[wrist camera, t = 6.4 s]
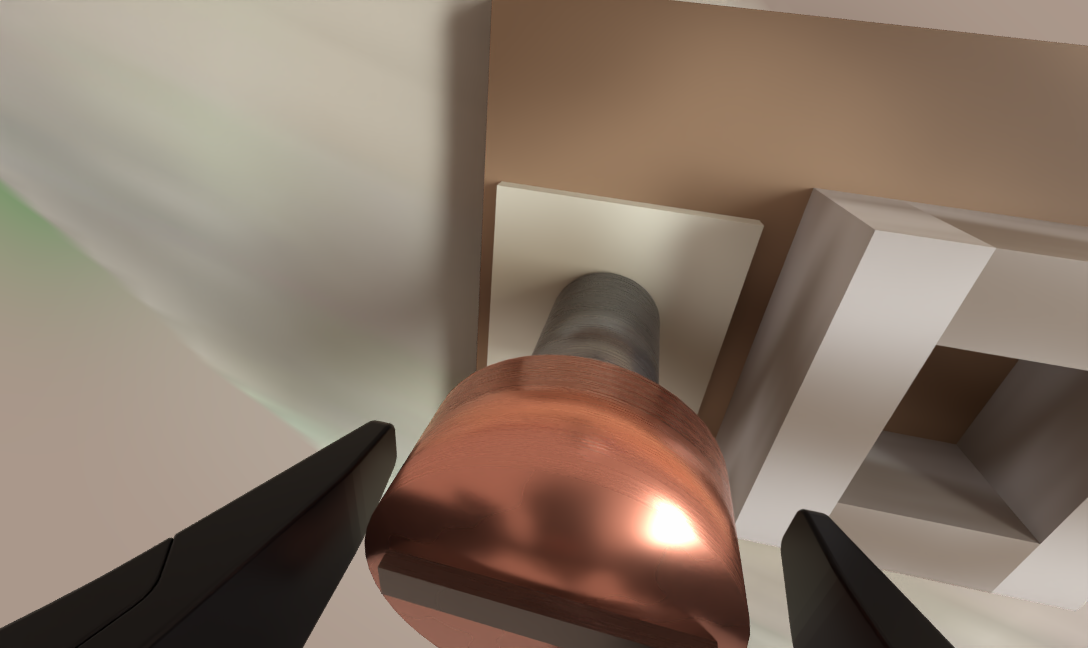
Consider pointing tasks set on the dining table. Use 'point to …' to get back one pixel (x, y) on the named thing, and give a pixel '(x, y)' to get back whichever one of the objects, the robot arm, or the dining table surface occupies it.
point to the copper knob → (566, 499)
